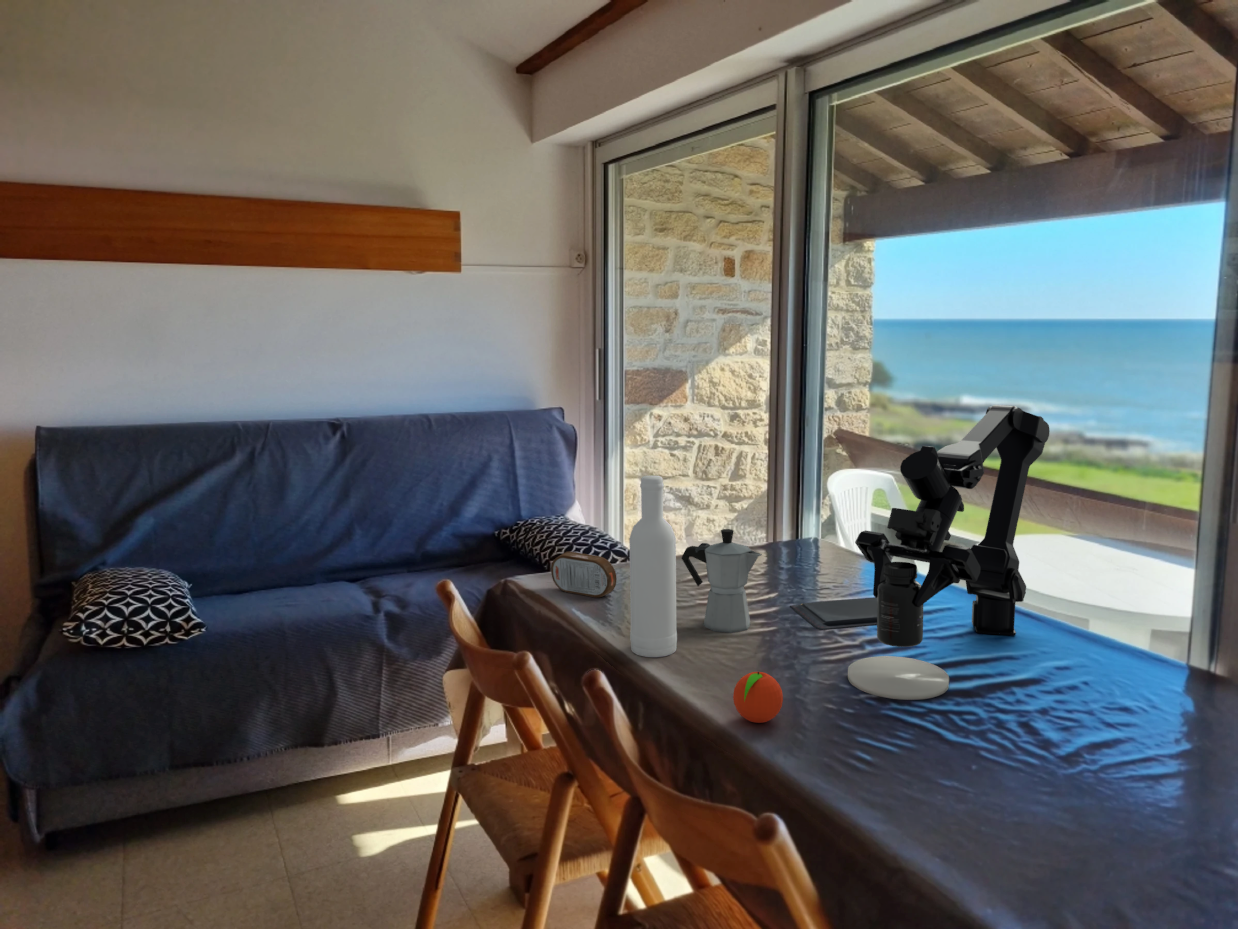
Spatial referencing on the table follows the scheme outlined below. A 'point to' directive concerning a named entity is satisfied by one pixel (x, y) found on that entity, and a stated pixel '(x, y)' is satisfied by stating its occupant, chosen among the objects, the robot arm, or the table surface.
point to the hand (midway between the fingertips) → (895, 601)
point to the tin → (583, 574)
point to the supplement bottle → (899, 606)
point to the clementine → (758, 697)
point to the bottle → (652, 576)
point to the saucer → (898, 677)
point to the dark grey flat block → (839, 613)
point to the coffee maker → (724, 581)
